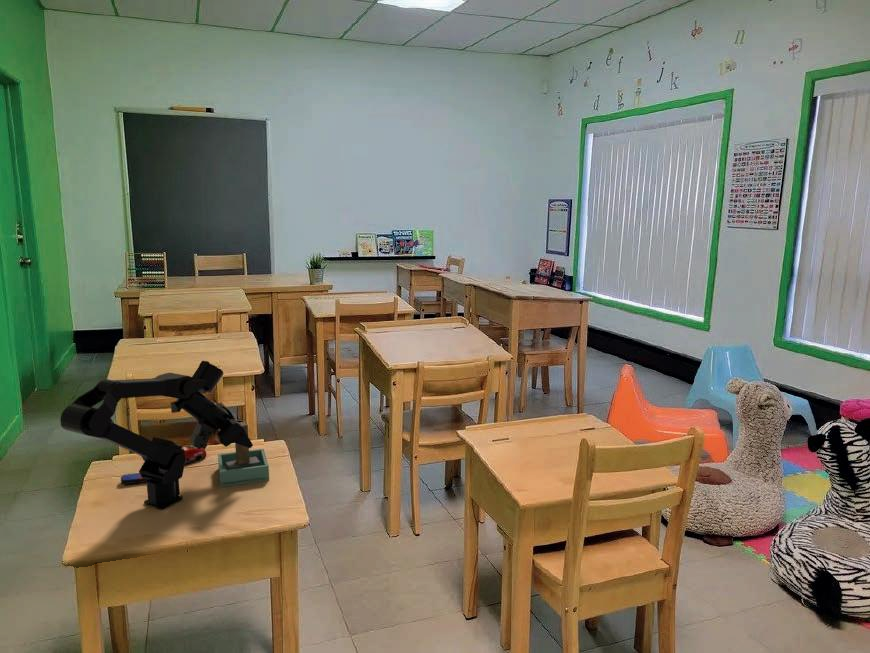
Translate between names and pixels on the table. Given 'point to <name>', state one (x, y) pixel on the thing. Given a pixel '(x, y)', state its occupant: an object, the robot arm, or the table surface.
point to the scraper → (242, 456)
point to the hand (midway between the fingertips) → (247, 441)
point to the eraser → (133, 479)
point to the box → (243, 469)
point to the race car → (193, 454)
